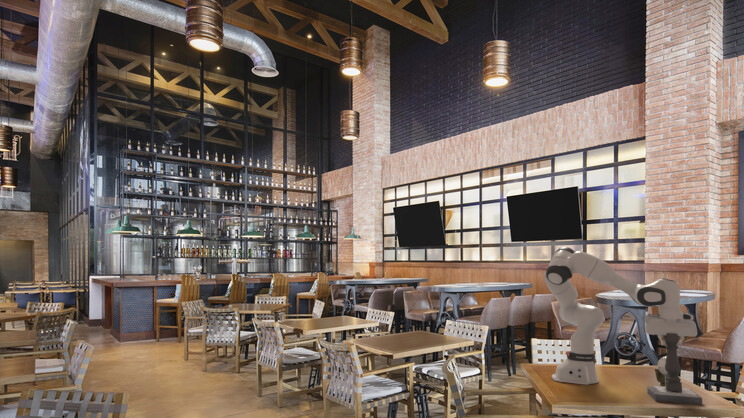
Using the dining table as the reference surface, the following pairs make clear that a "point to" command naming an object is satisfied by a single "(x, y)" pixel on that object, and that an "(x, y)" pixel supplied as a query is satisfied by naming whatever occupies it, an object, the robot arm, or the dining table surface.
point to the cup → (660, 377)
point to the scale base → (671, 398)
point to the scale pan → (675, 392)
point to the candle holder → (672, 363)
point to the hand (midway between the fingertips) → (671, 345)
